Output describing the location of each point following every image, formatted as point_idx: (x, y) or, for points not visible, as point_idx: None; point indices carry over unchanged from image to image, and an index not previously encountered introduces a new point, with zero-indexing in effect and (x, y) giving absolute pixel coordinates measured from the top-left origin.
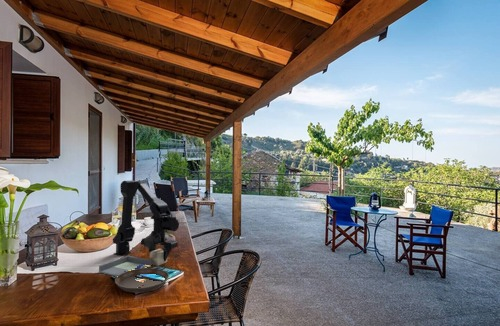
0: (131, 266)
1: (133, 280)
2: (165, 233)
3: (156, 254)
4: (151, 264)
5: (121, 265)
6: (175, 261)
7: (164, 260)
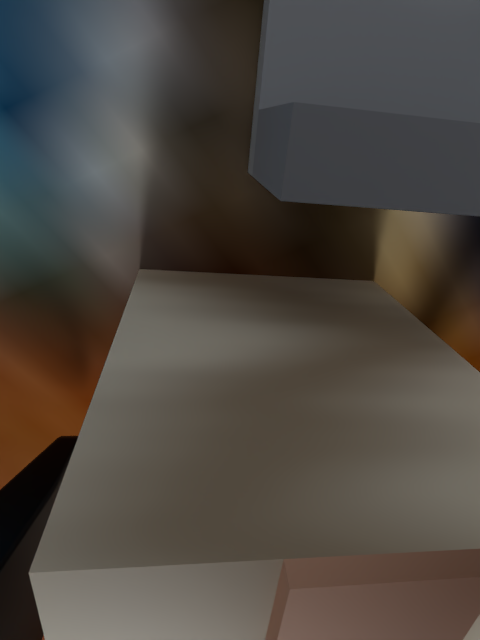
0: None
1: None
2: None
3: (189, 488)
4: (256, 161)
5: None
6: None
7: (44, 450)
